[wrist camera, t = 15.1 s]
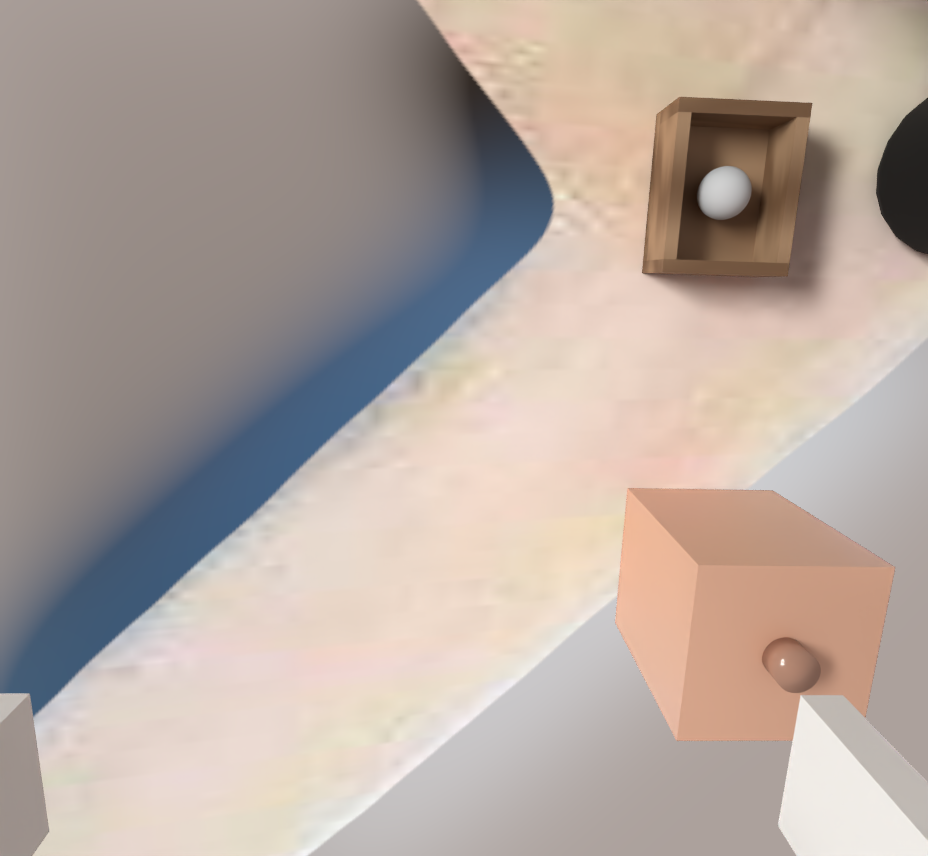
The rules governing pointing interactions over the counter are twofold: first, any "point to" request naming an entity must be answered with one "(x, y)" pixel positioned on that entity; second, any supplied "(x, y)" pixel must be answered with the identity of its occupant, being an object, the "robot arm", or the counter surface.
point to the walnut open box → (716, 145)
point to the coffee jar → (906, 180)
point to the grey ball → (724, 192)
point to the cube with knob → (745, 610)
